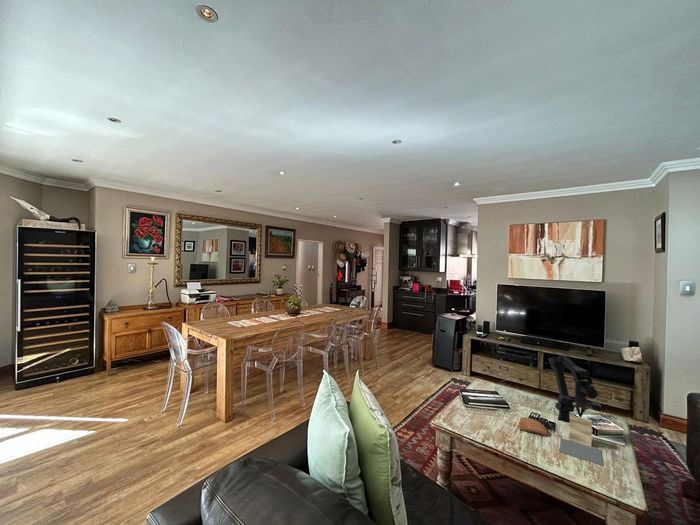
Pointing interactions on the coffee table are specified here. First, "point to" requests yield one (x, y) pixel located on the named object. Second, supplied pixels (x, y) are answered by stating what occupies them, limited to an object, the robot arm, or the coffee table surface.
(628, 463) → the coffee table surface
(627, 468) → the coffee table surface
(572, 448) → the mat
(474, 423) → the coffee table surface
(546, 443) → the coffee table surface
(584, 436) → the oak slab
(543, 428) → the ceramic shard
